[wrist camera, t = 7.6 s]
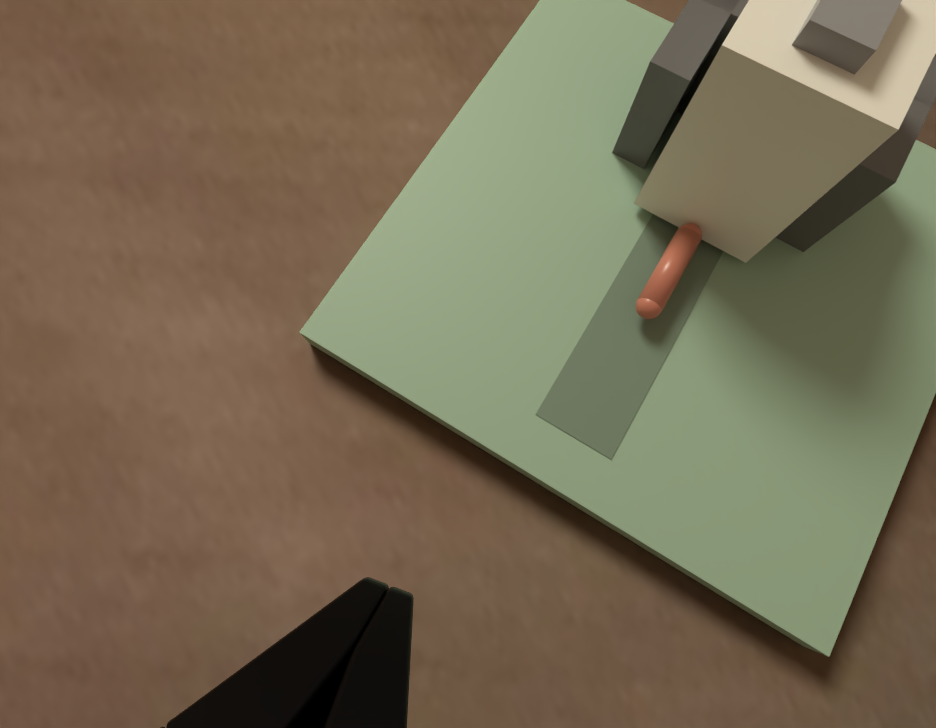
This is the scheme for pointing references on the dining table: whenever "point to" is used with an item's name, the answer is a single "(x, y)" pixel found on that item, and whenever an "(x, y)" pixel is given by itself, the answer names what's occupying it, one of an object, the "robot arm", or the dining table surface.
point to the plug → (782, 122)
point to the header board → (650, 332)
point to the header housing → (679, 78)
